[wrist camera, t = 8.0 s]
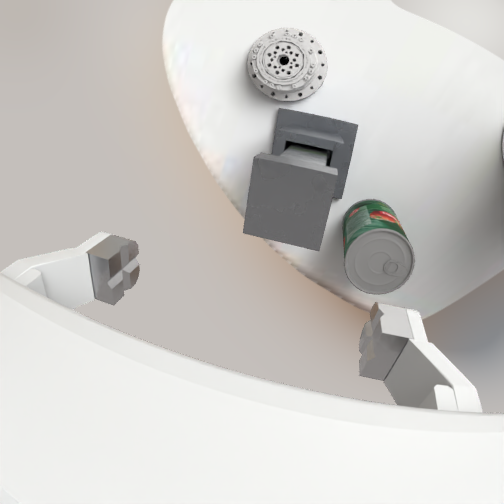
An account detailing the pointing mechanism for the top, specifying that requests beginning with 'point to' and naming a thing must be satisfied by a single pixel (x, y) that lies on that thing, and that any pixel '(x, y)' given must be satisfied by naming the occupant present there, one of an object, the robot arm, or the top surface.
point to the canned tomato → (376, 248)
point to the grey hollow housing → (318, 139)
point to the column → (290, 196)
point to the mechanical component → (301, 78)
